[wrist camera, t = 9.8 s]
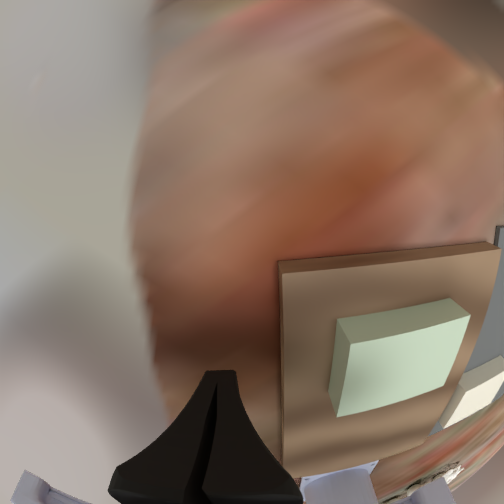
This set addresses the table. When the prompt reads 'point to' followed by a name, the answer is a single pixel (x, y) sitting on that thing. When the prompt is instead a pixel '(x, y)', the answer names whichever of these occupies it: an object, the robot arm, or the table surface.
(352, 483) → the robot arm
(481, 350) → the mat
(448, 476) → the tangled rod sculpture
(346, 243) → the table surface
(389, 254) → the board
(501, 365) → the tile cream
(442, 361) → the tile sage
